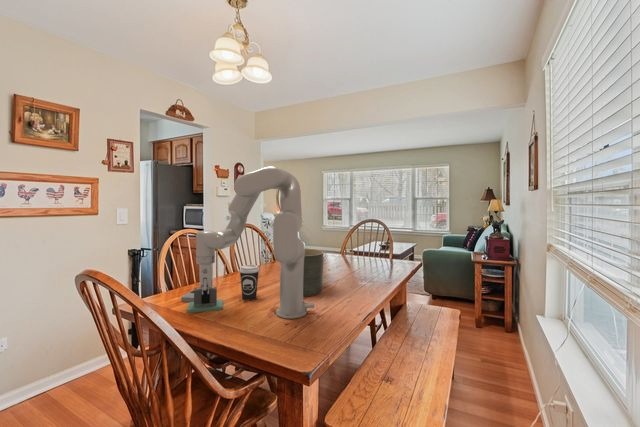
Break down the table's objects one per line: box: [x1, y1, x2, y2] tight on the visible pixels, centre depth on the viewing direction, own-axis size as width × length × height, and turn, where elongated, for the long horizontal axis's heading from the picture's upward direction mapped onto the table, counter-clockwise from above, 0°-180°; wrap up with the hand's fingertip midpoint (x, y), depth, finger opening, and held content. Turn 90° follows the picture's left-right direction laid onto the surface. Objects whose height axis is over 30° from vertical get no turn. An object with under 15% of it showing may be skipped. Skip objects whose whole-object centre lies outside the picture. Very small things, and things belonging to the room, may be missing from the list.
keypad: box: [180, 286, 201, 303], centre depth 144 cm, size 10×4×15 cm
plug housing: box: [193, 286, 218, 305], centre depth 130 cm, size 9×4×6 cm, turn 108°
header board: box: [186, 299, 224, 314], centre depth 130 cm, size 14×10×5 cm
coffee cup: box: [238, 264, 261, 301], centre depth 143 cm, size 10×10×15 cm
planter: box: [303, 248, 325, 298], centre depth 156 cm, size 22×22×20 cm
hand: (205, 301), depth 130 cm, fingers closed on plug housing, 3 cm apart
